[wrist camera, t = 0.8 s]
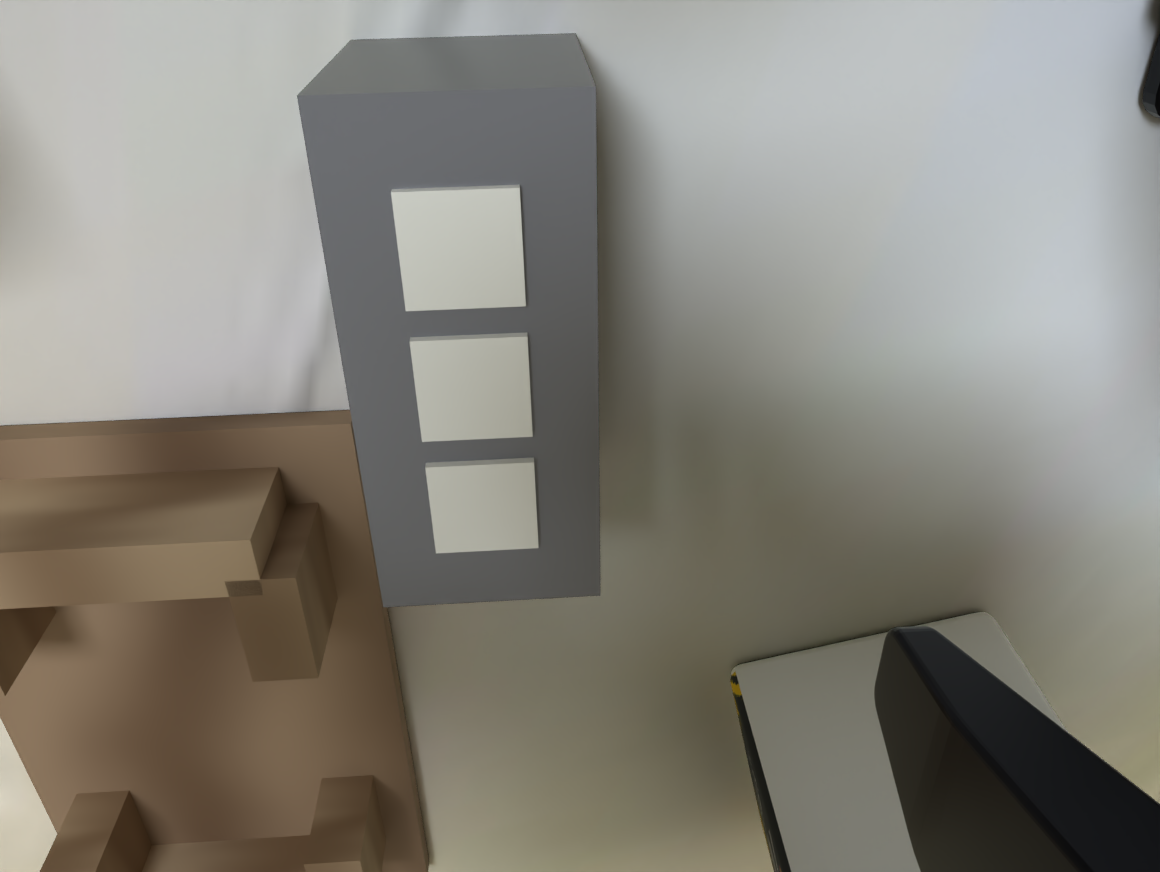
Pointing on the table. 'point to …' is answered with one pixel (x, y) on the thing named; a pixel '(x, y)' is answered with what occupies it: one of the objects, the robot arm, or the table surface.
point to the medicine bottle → (843, 747)
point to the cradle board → (202, 647)
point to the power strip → (466, 306)
